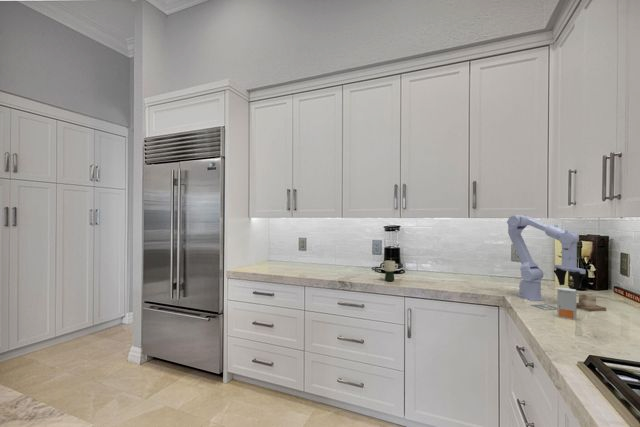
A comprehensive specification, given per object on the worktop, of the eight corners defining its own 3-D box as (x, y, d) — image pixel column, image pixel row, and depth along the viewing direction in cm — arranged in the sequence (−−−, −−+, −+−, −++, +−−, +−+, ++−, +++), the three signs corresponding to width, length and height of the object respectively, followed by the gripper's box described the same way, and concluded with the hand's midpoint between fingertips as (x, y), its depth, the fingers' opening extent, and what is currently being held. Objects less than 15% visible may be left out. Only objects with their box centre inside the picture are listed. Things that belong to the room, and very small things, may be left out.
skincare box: (557, 317, 141) (556, 288, 141) (559, 315, 144) (559, 287, 144) (575, 320, 136) (574, 291, 136) (576, 318, 139) (576, 289, 139)
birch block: (578, 304, 155) (578, 293, 155) (587, 304, 156) (587, 293, 156) (587, 306, 151) (586, 295, 151) (596, 306, 152) (596, 295, 152)
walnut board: (570, 306, 157) (570, 303, 157) (586, 305, 159) (586, 302, 159) (589, 311, 148) (589, 308, 148) (606, 310, 150) (606, 307, 150)
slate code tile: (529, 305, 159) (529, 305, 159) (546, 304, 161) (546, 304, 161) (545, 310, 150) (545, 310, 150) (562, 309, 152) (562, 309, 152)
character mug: (396, 279, 225) (396, 260, 225) (399, 281, 218) (399, 261, 218) (380, 279, 224) (380, 260, 225) (382, 281, 217) (382, 261, 218)
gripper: (548, 256, 164) (548, 283, 164) (576, 260, 150) (576, 290, 150) (560, 255, 166) (560, 283, 165) (589, 259, 151) (589, 289, 151)
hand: (569, 286), depth 158 cm, fingers open, 7 cm apart
